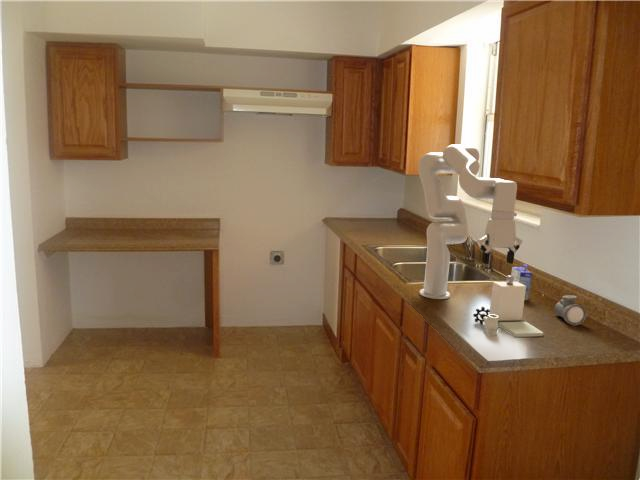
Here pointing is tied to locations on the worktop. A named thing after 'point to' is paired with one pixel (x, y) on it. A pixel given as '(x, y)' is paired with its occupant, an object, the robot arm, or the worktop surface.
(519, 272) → the ink cartridge box
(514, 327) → the pad
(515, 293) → the pump housing
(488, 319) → the valve
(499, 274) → the worktop surface
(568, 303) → the pipe fitting
